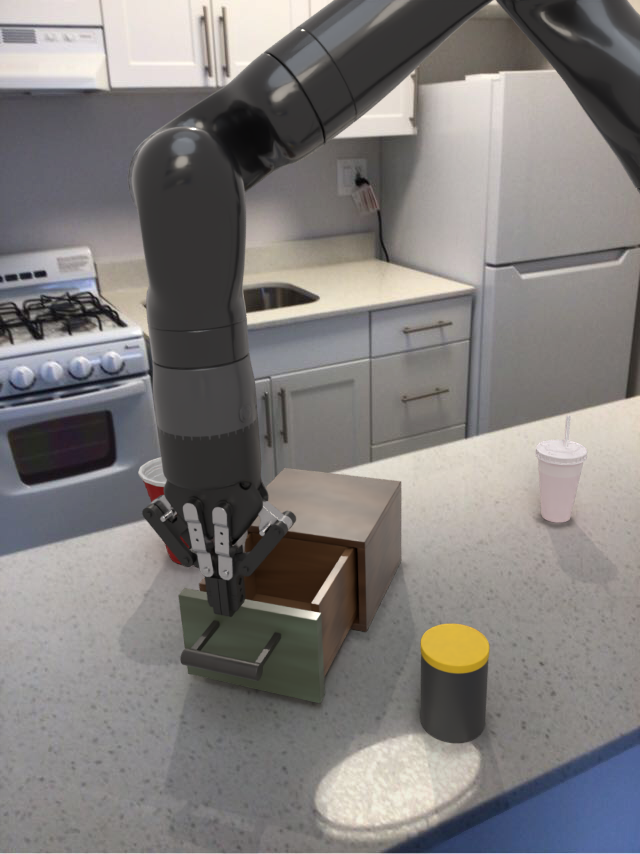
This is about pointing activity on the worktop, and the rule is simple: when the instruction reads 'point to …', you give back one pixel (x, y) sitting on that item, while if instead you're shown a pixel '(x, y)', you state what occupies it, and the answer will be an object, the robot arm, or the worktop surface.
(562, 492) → the smoothie
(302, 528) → the cabinet
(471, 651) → the canister
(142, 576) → the worktop surface
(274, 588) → the drawer
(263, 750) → the worktop surface
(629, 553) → the worktop surface
